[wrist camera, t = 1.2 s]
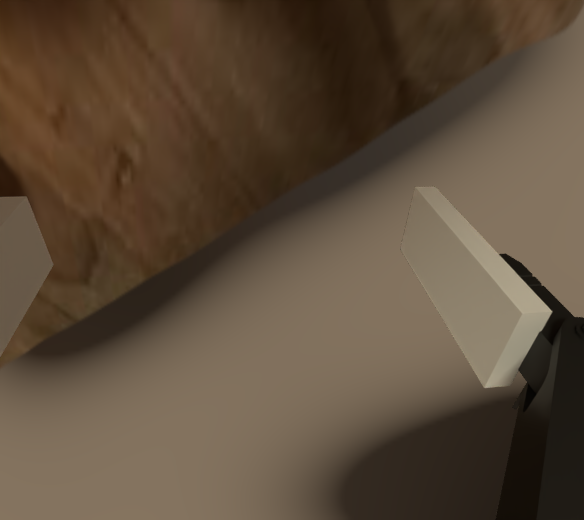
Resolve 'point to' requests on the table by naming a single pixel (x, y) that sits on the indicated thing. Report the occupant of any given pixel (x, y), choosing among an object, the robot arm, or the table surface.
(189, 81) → the table surface
